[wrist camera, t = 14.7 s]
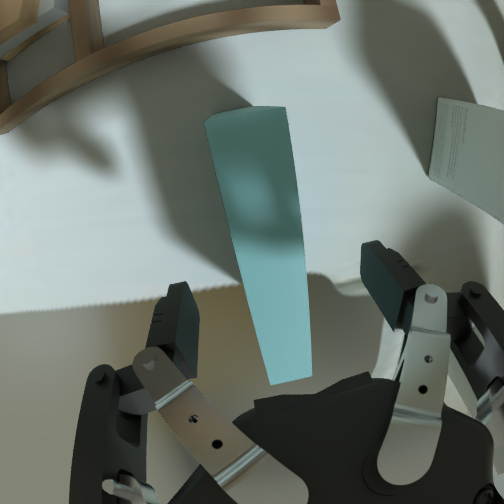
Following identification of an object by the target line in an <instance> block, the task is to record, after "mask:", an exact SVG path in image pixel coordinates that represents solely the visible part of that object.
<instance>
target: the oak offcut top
mask: <svg viewBox="0 0 504 504" xmlns="http://www.w3.org/2000/svg"><path fill="white" fill-rule="evenodd" d="M39 4H40V0H0V45H1V44H3V43H4V42H6V41H7V40H9V39H10V38H12V37H13V36H15V35H17V34H18V33H20V32H22V31H23V30H25V29H27V28H29V27H30V26H32V25H34V24H36V23H37V16H38V10H39Z"/></svg>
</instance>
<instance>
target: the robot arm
mask: <svg viewBox="0 0 504 504" xmlns="http://www.w3.org/2000/svg"><path fill="white" fill-rule="evenodd" d="M360 275H361V279H362V282H363V284H364V285H365V287H366V288H367V290H368V291H369V293H370V295H371V296H372V298H373V299H374V301H375V302H376V304H377V306H378V307H379V309H380V310H381V312H382V314H383V315H384V317H385V319H386V320H387V322H388V323H389V325H390V327H391V328H392V330H393V332H396V331H399V330H402V329H403V331H404V333H405V334H404V337H403V341H402V345H401V350H400V354H399V358H398V362H397V366H396V370H395V373H394V376H393V379H392V380H390V379H384V378H371V376H370V374H369V372H368V371H367V372H364V373H361V374H359V375H355V376H353V377H349V378H346V379H343V380H340V381H339V382H337V383H335V384H333V385H331V386H330V387H328V388H326V389H324V390H322V391H320V392H318V393H316V394H305V395H278V396H273V397H268V398H262V399H257V400H254V406H255V408H252V409H250V410H248V411H247V412H245V413H243V414H241V415H240V416H238V417H237V418H236V419H235V420H234V421H233V422H230V421H229V420H228V419H227V418H226V417H225V416H224V415H223V414H222V413H221V412H220V411H219V410H218V409H217V408H216V407H215V406H214V405H213V404H212V403H211V402H210V401H209V400H208V399H207V398H206V397H205V396H204V395H203V394H202V393H201V392H200V391H199V390H198V389H197V388H196V386H195V385H194V384H193V383H192V382H191V381H188V379H190V378H197V361H198V339H199V322H200V317H199V311H198V307H197V305H196V302H195V300H194V298H193V295H192V293H191V290H190V288H189V286H188V283H187V282H186V281H185V282H180V283H175V284H170V285H169V288H168V293H167V296H166V297H161V299H160V300H159V301H158V303H157V304H156V306H155V309H154V313H153V317H152V323H151V325H150V330H149V334H148V338H147V343H146V347H145V349H143V350H141V351H140V352H139V353H138V354H137V355H136V356H135V358H134V360H133V363H132V365H130V366H127V367H124V368H122V369H119V370H116V371H115V370H114V369H113V368H112V367H111V366H110V365H107V364H103V365H99V366H97V367H96V368H94V369H93V370H92V371H91V372H90V374H89V376H88V378H87V382H86V387H85V390H84V395H83V400H82V404H81V409H80V414H79V419H78V425H77V430H76V437H75V443H74V450H73V458H72V467H71V477H70V492H69V504H160V503H159V501H158V496H157V493H156V491H155V489H154V488H153V487H152V486H151V485H150V484H148V483H146V443H147V442H146V441H147V418H148V412H151V411H154V410H158V411H159V413H160V414H161V416H162V417H163V418H164V420H165V421H166V423H167V424H168V425H169V426H170V428H171V429H172V430H173V432H174V433H175V434H176V435H177V437H178V438H179V439H180V441H181V442H182V443H183V444H184V445H185V447H186V448H187V449H188V450H189V451H190V453H191V454H192V455H193V456H194V457H195V458H196V459H197V461H198V462H199V463H200V465H199V466H198V467H197V468H196V470H195V471H194V472H193V474H192V475H191V476H190V477H189V479H188V480H187V481H186V482H185V483H184V485H183V486H182V487H181V488H180V490H179V491H178V492H177V493H176V494H175V495H174V497H173V498H172V499H171V500H170V501H169V502H168V504H504V499H503V498H502V497H501V496H500V494H499V493H498V491H497V490H496V488H495V486H494V482H493V456H494V450H495V449H496V448H498V447H499V446H500V445H502V444H503V443H504V310H503V309H502V308H501V306H500V305H499V304H498V303H497V301H496V300H495V299H494V298H493V296H492V295H491V294H490V293H489V292H488V291H487V289H486V288H485V287H484V286H483V285H481V284H479V283H477V282H473V281H470V282H466V283H465V284H463V286H462V289H461V292H457V293H445V291H444V290H443V289H442V288H440V287H439V286H437V285H434V284H426V283H425V282H424V281H423V279H422V278H421V277H420V276H419V275H418V274H417V273H416V271H415V270H414V269H413V268H412V267H411V266H410V265H409V264H408V263H407V262H406V261H405V259H404V258H403V257H402V256H401V255H400V254H399V253H398V252H396V251H394V250H392V249H390V248H388V249H386V248H385V247H384V246H383V245H382V243H381V242H380V241H378V240H375V241H371V242H366V243H363V244H362V246H361V265H360ZM475 327H476V328H477V329H478V331H479V332H480V334H481V335H482V337H483V338H484V341H485V347H484V346H483V344H482V342H481V341H480V339H479V338H478V336H477V335H476V333H475V332H474V329H475ZM450 349H451V351H452V352H453V354H454V356H455V358H456V359H457V361H458V363H459V365H460V367H461V369H462V370H463V372H464V374H465V376H466V378H467V380H468V382H469V384H470V386H471V388H472V390H473V392H474V394H475V396H476V398H477V400H478V403H477V407H476V411H477V414H476V416H475V419H474V418H472V417H469V416H467V415H465V414H463V413H461V412H459V411H456V410H454V409H452V408H450V407H448V406H446V405H444V404H443V401H444V395H445V389H446V382H447V374H448V365H449V355H450Z"/></svg>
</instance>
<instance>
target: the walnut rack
mask: <svg viewBox="0 0 504 504" xmlns="http://www.w3.org/2000/svg"><path fill="white" fill-rule="evenodd" d="M304 3H305V5H274V6H261V7H251V8H242V9H235V10H229V11H222V12H217V13H212V14H207V15H202V16H197V17H193V18H189V19H185V20H181V21H177V22H174V23H170V24H167V25H164V26H160V27H157V28H154V29H151V30H148V31H145V32H142V33H140V34H137V35H134V36H132V37H129V38H127V39H124V40H122V41H119V42H117V43H115V44H112V45H110V46H108V47H105V46H104V40H103V34H102V27H101V20H100V12H99V3H98V0H70V15H71V27H72V36H73V44H74V51H75V58H76V63H74V64H72V65H70V66H68V67H67V68H65V69H63V70H62V71H60V72H58V73H57V74H55V75H53V76H52V77H50V78H49V79H47V80H46V81H44V82H42V83H41V84H40V85H38V86H37V87H35V88H34V89H32V90H31V91H29V92H28V93H27V94H25V95H24V96H23V97H21V98H20V99H19V100H17V101H16V102H15V103H14V104H12V105H11V101H10V95H9V88H8V80H7V70H6V60H2V59H1V60H0V135H2V134H5V133H8V132H9V131H11V130H12V129H13V128H15V127H16V126H17V125H19V124H20V123H21V122H23V121H24V120H26V119H27V118H28V117H30V116H31V115H33V114H34V113H36V112H37V111H39V110H40V109H42V108H43V107H45V106H47V105H48V104H50V103H51V102H53V101H55V100H56V99H58V98H60V97H61V96H63V95H65V94H67V93H68V92H70V91H72V90H74V89H76V88H78V87H80V86H82V85H83V84H85V83H87V82H89V81H91V80H94V79H96V78H98V77H100V76H102V75H104V74H106V73H109V72H111V71H113V70H116V69H118V68H120V67H123V66H125V65H128V64H130V63H133V62H136V61H138V60H141V59H144V58H147V57H150V56H153V55H156V54H159V53H162V52H165V51H168V50H172V49H175V48H179V47H182V46H186V45H190V44H194V43H198V42H202V41H207V40H212V39H217V38H222V37H227V36H233V35H239V34H246V33H254V32H263V31H273V30H288V29H326V28H328V27H329V26H331V25H333V24H334V23H336V22H338V21H340V20H341V19H340V15H339V11H338V7H337V4H336V0H304Z"/></svg>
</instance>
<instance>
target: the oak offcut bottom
mask: <svg viewBox="0 0 504 504" xmlns="http://www.w3.org/2000/svg"><path fill="white" fill-rule="evenodd" d="M68 12H69V14H67V15H65V16H63V17H61V18H60V19H58V20H56V21H55V22H53V23H51V24H50V25H48V26H46V27H45V28H43V29H42V30H40V31H38V32H37V33H35V34H34V35H33V36H31V37H30V38H28V39H27V40H25V41H24V42H23V43H21V44H20V45H19V46H17V47H16V48H15V49H13V50H12V51H11V52H10V53H8V54H7V55H6V56H5V57H3V58H2V60H12V59H13V58H14V57H15V56H17V55H18V54H19V53H20V52H22V51H23V50H24V49H25V48H27V47H28V46H29V45H31V44H32V43H34V42H35V41H36V40H38V39H39V38H41V37H42V36H43V35H45V34H46V33H48V32H49V31H51V30H53V29H54V28H56V27H57V26H59V25H61V24H62V23H64V22H66V21H67V20H69V19H71V15H70V0H68Z"/></svg>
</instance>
